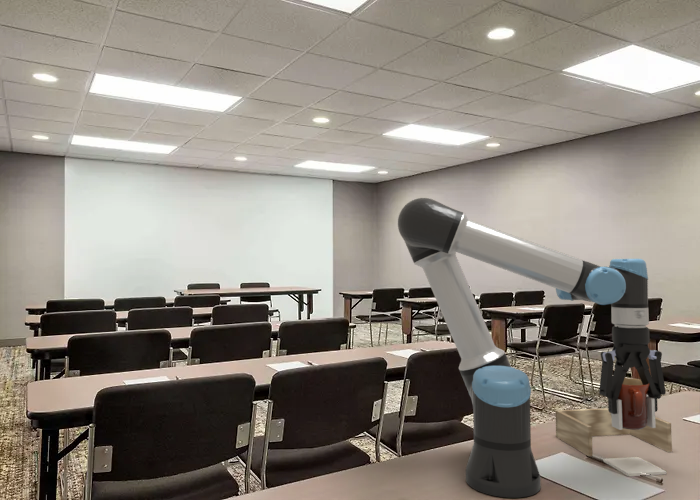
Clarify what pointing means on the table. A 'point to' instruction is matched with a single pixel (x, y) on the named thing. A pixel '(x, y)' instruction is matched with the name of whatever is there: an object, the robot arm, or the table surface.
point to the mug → (633, 404)
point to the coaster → (634, 466)
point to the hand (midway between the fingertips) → (633, 426)
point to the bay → (605, 429)
